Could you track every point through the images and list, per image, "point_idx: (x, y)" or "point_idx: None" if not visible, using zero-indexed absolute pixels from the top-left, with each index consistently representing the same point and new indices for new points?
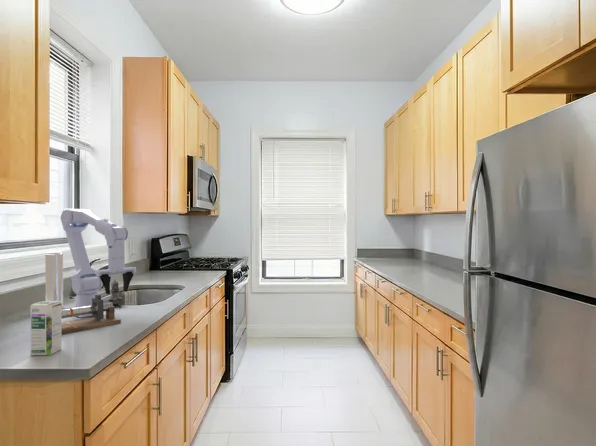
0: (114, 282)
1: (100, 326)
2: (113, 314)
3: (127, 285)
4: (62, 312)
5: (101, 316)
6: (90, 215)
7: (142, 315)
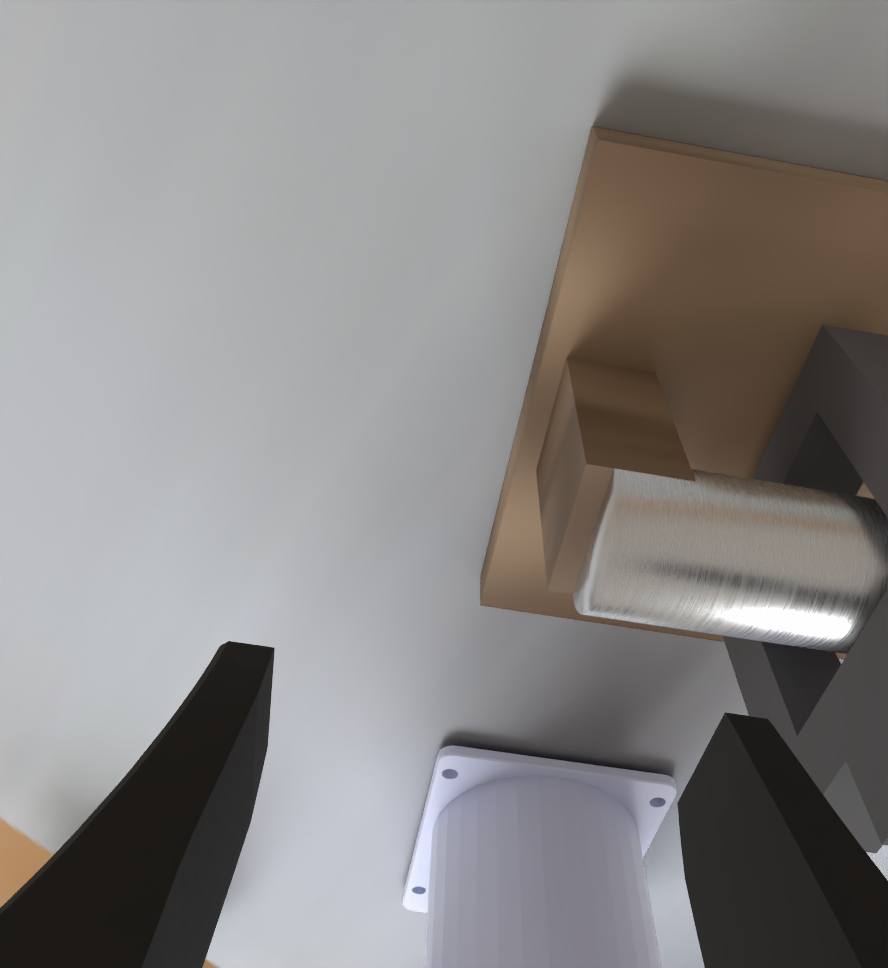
0: None
1: None
2: (589, 390)
3: (181, 784)
4: None
5: (878, 351)
6: None
7: (76, 280)
